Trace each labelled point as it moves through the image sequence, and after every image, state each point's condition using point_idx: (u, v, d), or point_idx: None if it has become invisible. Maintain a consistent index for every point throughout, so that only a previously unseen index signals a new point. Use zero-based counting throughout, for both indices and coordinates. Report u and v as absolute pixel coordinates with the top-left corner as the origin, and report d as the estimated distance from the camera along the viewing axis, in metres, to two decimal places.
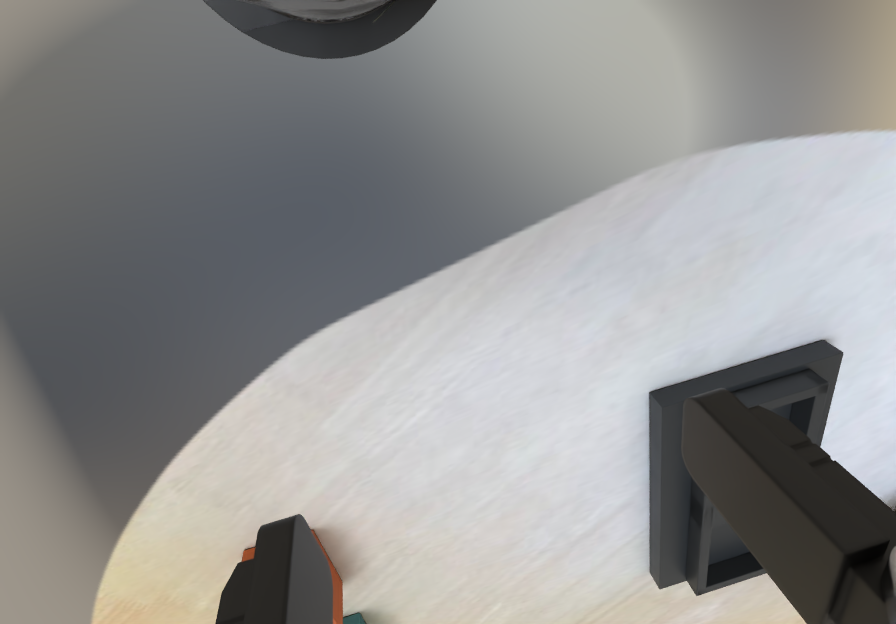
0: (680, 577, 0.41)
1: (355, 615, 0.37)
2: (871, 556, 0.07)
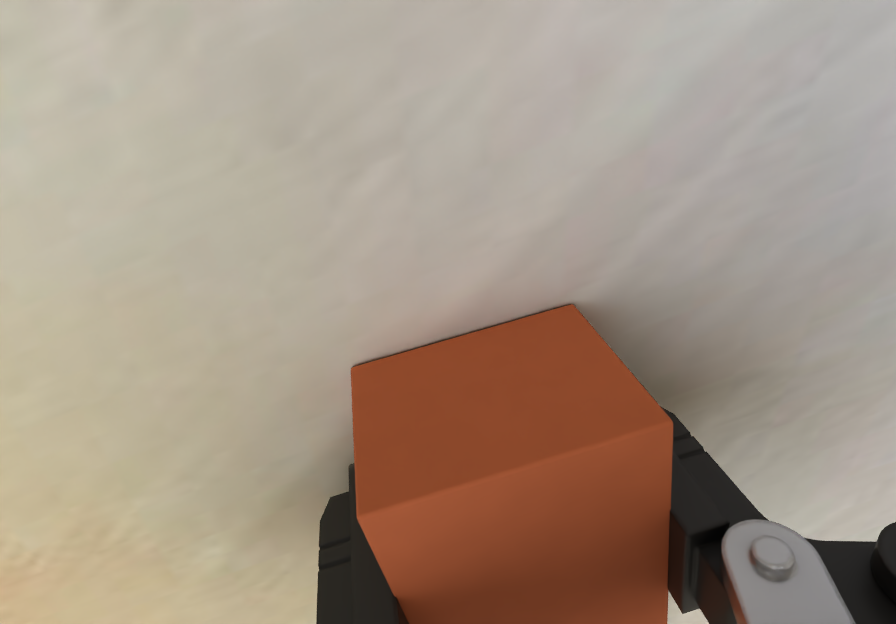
0: None
1: None
2: (714, 537, 0.08)
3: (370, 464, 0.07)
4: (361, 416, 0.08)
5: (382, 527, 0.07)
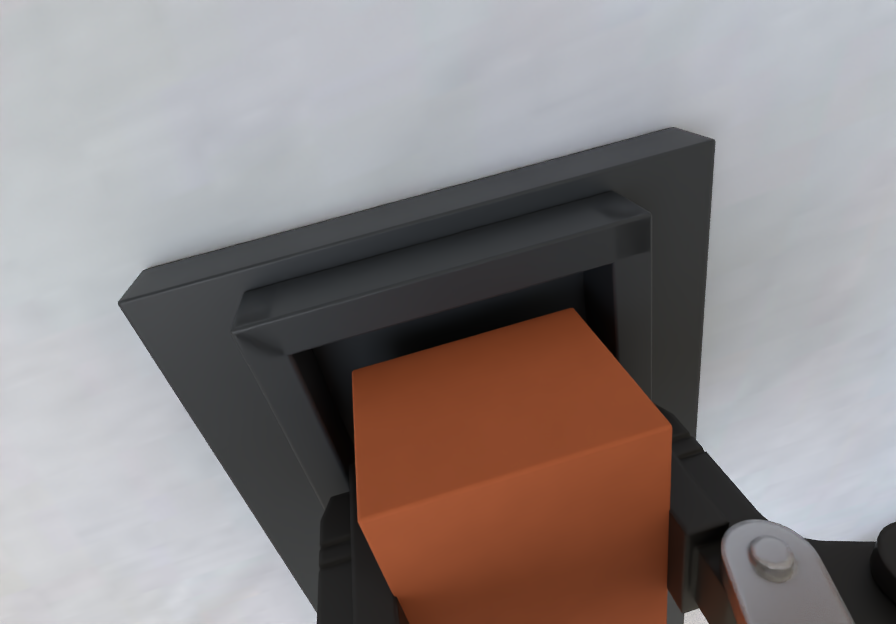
0: None
1: None
2: (713, 537, 0.08)
3: (371, 467, 0.07)
4: (362, 419, 0.08)
5: (383, 530, 0.07)
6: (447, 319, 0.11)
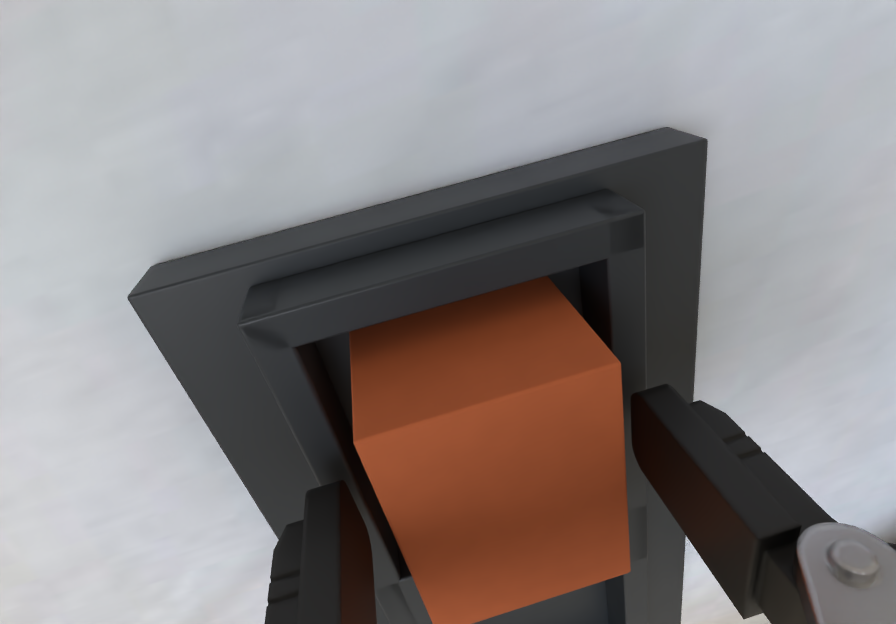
0: None
1: None
2: (784, 541, 0.07)
3: (365, 403, 0.09)
4: (358, 367, 0.10)
5: (375, 451, 0.08)
6: None
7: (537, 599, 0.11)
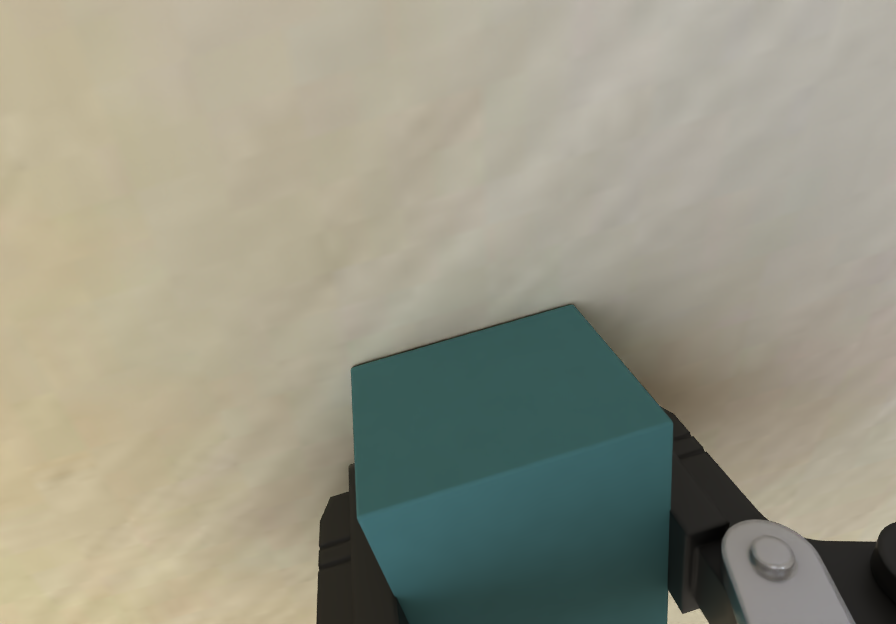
0: None
1: (561, 310, 0.10)
2: (714, 537, 0.08)
3: None
4: None
5: None
6: None
7: None
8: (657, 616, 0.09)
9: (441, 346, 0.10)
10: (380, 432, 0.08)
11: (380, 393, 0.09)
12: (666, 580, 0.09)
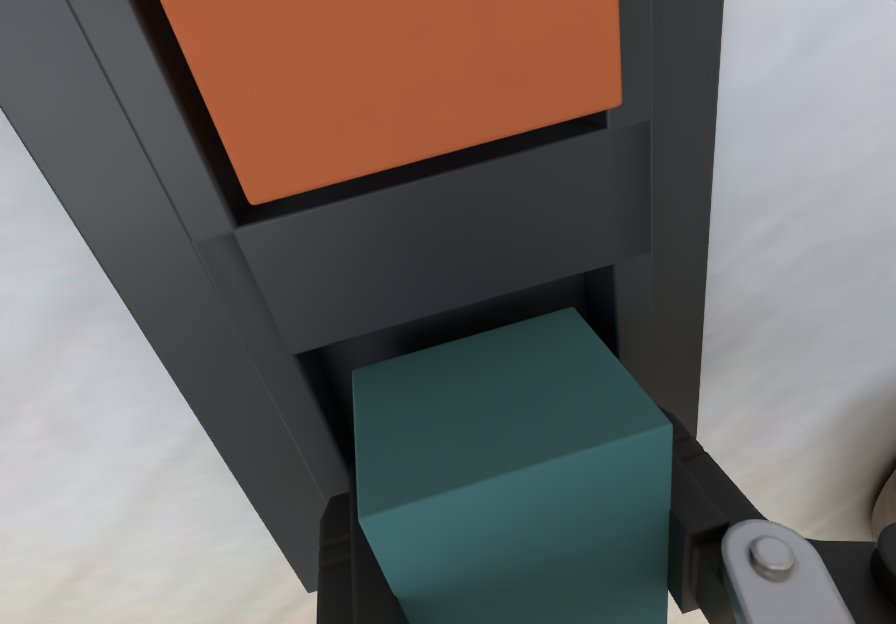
0: None
1: (561, 313, 0.10)
2: (714, 537, 0.08)
3: None
4: None
5: None
6: None
7: (443, 141, 0.06)
8: (657, 617, 0.09)
9: (442, 348, 0.10)
10: (381, 434, 0.08)
11: (381, 395, 0.09)
12: (666, 582, 0.09)
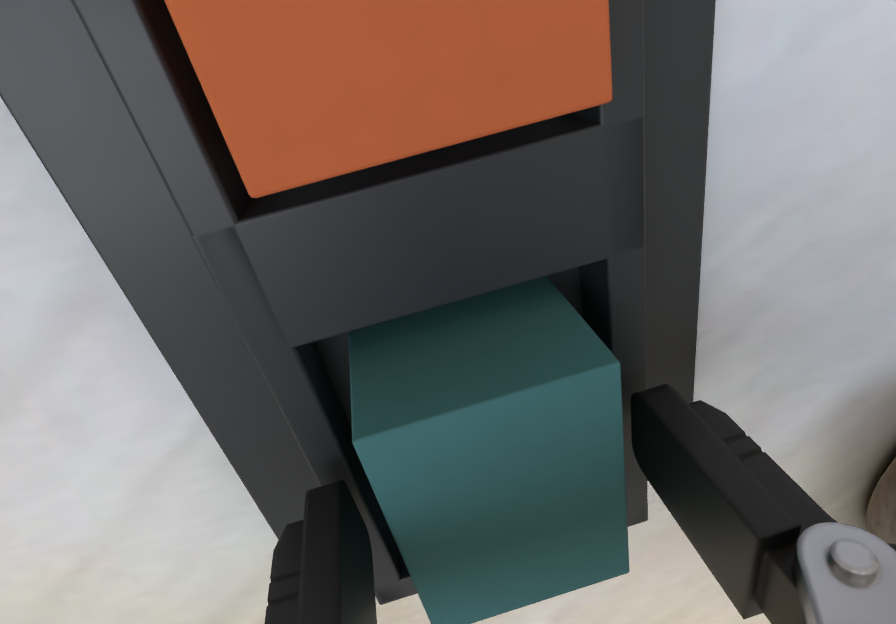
0: None
1: (534, 279, 0.11)
2: (785, 541, 0.07)
3: None
4: None
5: None
6: None
7: (439, 135, 0.06)
8: (618, 548, 0.11)
9: (428, 310, 0.11)
10: (373, 377, 0.09)
11: (373, 349, 0.10)
12: (624, 513, 0.10)
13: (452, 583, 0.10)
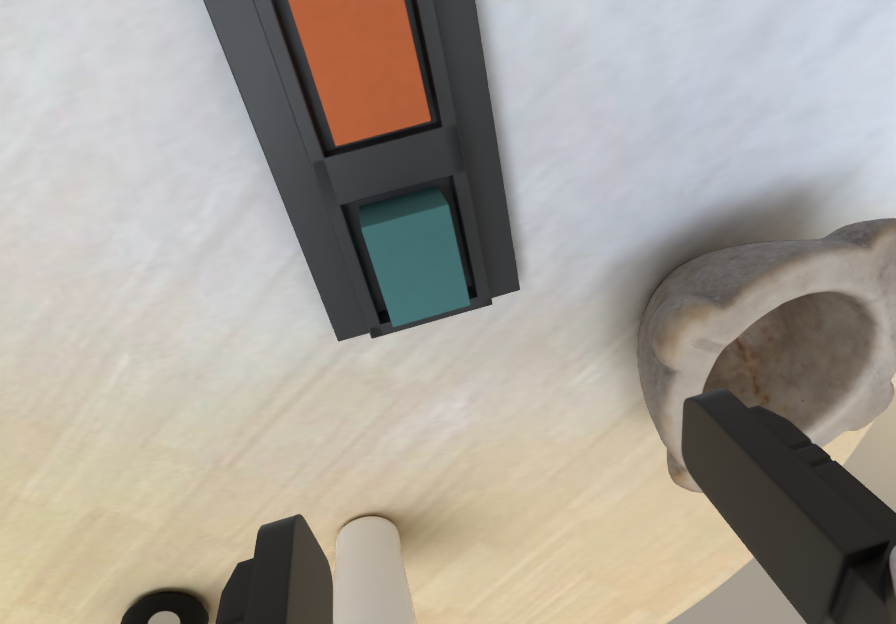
0: (362, 323, 0.31)
1: (431, 187, 0.28)
2: (871, 556, 0.07)
3: None
4: None
5: (295, 0, 0.20)
6: None
7: (384, 130, 0.23)
8: (463, 290, 0.28)
9: (389, 199, 0.28)
10: (368, 216, 0.26)
11: (368, 210, 0.27)
12: (462, 272, 0.27)
13: (398, 298, 0.27)
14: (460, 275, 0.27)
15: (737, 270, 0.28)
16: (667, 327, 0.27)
